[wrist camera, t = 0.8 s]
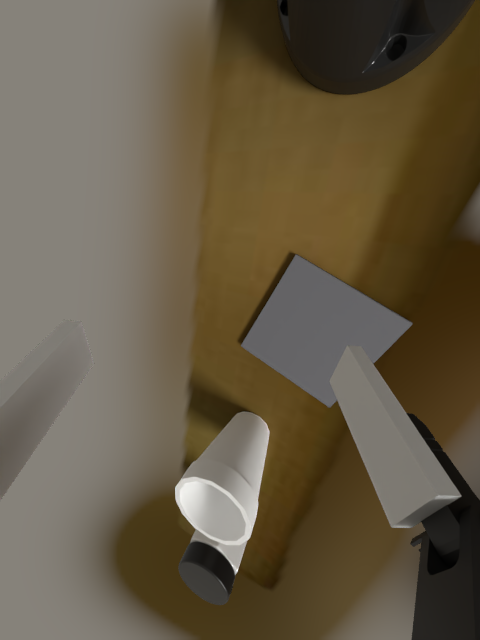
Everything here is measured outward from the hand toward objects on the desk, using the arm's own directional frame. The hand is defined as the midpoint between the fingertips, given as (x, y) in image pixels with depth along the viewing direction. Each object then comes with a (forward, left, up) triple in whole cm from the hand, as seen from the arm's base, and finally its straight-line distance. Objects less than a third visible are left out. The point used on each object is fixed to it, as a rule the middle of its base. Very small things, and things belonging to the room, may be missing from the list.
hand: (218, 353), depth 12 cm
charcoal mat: (+3, +6, -19) cm, 20 cm away
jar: (+39, +13, -19) cm, 45 cm away
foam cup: (+22, +7, -19) cm, 30 cm away
